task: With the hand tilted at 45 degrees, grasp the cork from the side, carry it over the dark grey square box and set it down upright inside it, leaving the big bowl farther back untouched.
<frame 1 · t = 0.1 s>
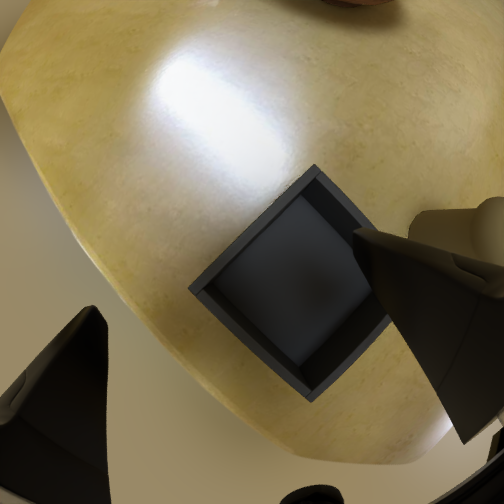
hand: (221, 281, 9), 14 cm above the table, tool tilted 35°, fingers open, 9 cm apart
cork: (431, 241, 24), on the table
dark grey square box: (300, 282, 23), on the table
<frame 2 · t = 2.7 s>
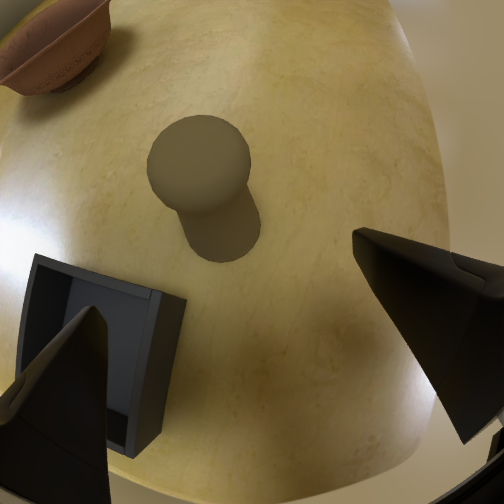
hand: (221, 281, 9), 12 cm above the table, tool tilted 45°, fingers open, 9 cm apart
cork: (222, 225, 23), on the table
dark grey square box: (109, 349, 20), on the table
bowl: (74, 73, 30), on the table
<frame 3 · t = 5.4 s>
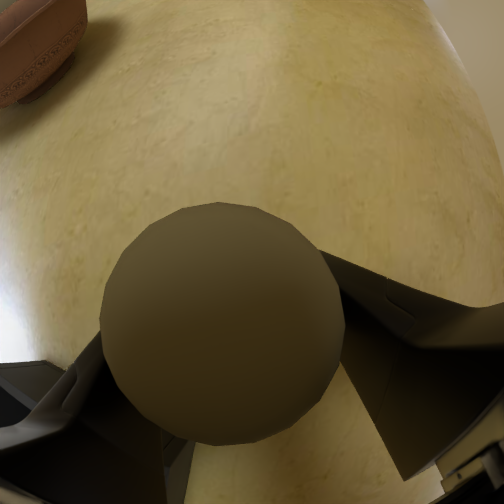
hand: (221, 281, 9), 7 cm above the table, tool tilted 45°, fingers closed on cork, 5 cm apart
cork: (245, 323, 15), on the table, touching gripper
dark grey square box: (104, 463, 13), on the table
bowl: (45, 77, 22), on the table
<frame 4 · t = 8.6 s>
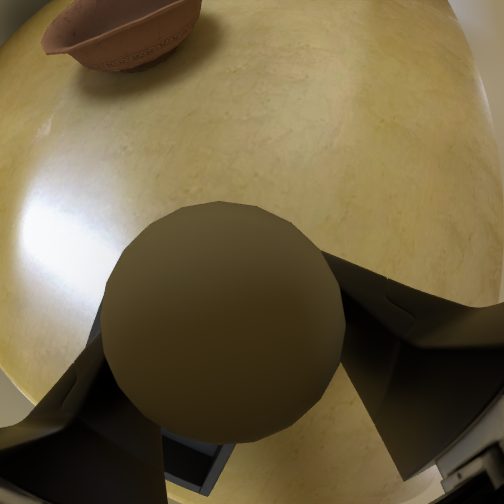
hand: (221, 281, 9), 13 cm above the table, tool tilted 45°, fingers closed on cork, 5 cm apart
cork: (245, 322, 15), point 7 cm above the table, touching gripper
dark grey square box: (177, 381, 21), on the table
bowl: (146, 53, 30), on the table
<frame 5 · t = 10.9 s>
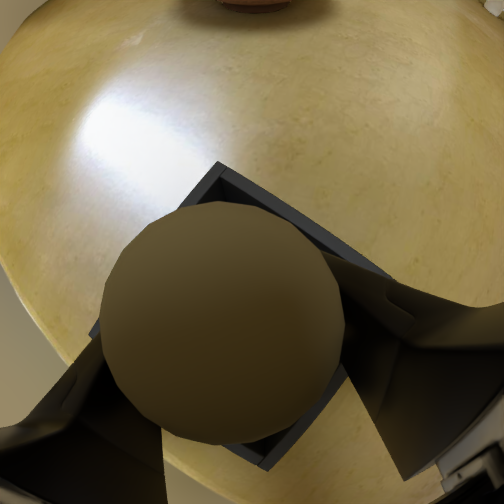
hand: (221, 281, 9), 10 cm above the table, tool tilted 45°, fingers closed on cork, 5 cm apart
cork: (244, 323, 15), point 3 cm above the table, touching gripper
dark grey square box: (246, 318, 18), on the table
bowl: (255, 2, 27), on the table
cup: (491, 12, 34), on the table
when the fingers open (7 cm above the table, at t = 12.1 s): cork stays where it is, resting on dark grey square box.
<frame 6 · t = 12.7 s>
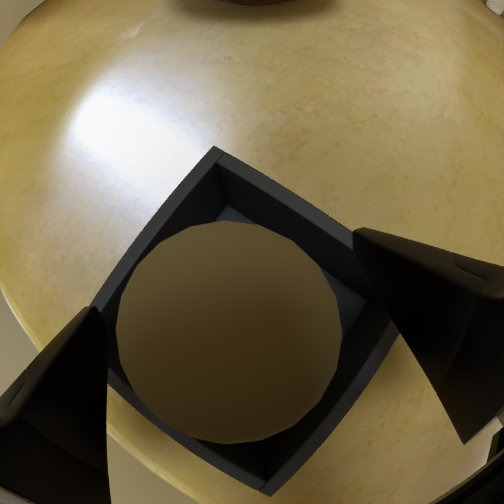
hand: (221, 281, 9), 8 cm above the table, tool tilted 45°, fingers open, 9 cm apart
cork: (247, 327, 16), resting on dark grey square box
dark grey square box: (246, 324, 16), on the table
cup: (493, 11, 32), on the table
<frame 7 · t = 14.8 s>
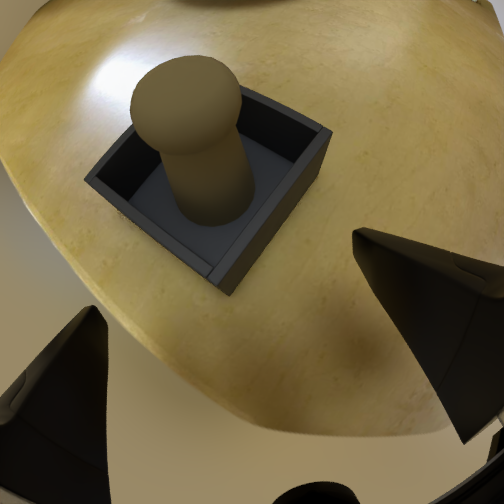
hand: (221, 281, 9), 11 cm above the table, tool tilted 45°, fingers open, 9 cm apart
cork: (214, 189, 21), resting on dark grey square box
dark grey square box: (214, 189, 21), on the table
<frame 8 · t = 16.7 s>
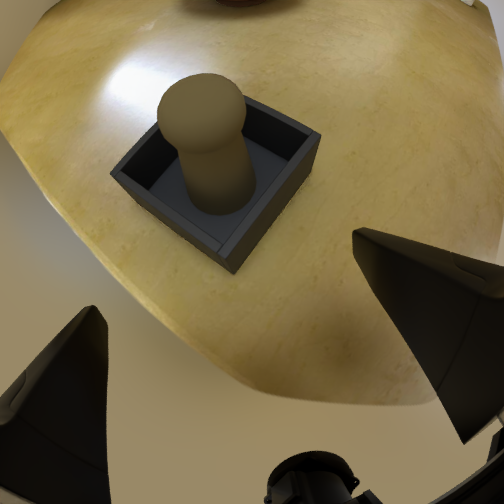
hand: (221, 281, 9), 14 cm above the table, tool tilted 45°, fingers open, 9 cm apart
cork: (221, 184, 24), resting on dark grey square box
dark grey square box: (221, 184, 25), on the table
cup: (464, 2, 41), on the table
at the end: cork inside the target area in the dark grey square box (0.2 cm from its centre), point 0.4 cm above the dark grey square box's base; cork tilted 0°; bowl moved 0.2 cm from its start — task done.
